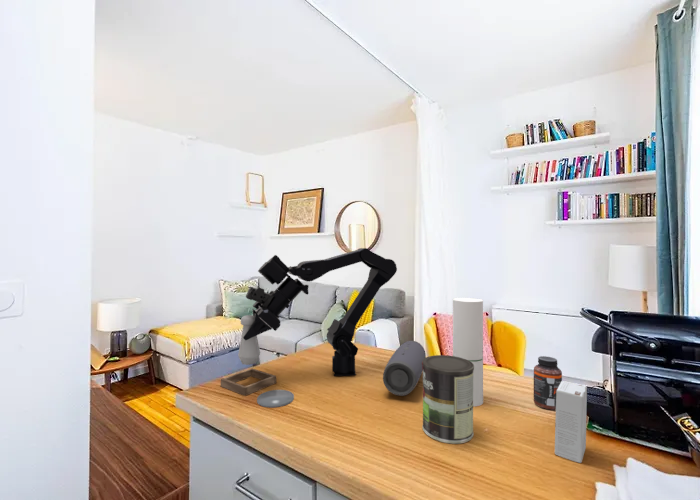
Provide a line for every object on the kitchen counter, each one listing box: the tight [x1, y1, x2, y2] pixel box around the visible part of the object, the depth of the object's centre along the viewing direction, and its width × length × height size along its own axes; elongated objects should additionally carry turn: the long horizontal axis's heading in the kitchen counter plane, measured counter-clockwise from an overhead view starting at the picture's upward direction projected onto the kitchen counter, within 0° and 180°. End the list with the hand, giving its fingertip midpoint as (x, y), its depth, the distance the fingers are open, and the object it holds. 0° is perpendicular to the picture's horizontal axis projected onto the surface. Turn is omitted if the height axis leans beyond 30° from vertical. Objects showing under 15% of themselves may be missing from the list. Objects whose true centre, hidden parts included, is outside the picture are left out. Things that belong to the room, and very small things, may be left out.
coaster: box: [256, 389, 295, 408], centre depth 85 cm, size 9×9×1 cm
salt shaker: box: [237, 314, 261, 366], centre depth 95 cm, size 6×6×13 cm
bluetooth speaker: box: [382, 340, 427, 397], centre depth 95 cm, size 23×9×10 cm, turn 161°
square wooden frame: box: [220, 368, 277, 397], centre depth 95 cm, size 11×11×2 cm
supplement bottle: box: [533, 355, 563, 411], centre depth 82 cm, size 6×6×11 cm
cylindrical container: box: [452, 297, 484, 407], centre depth 85 cm, size 7×7×25 cm
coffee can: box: [422, 354, 474, 445], centre depth 71 cm, size 10×10×14 cm
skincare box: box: [554, 380, 588, 464], centre depth 63 cm, size 6×4×12 cm
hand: (244, 337), depth 94 cm, fingers closed on salt shaker, 3 cm apart
